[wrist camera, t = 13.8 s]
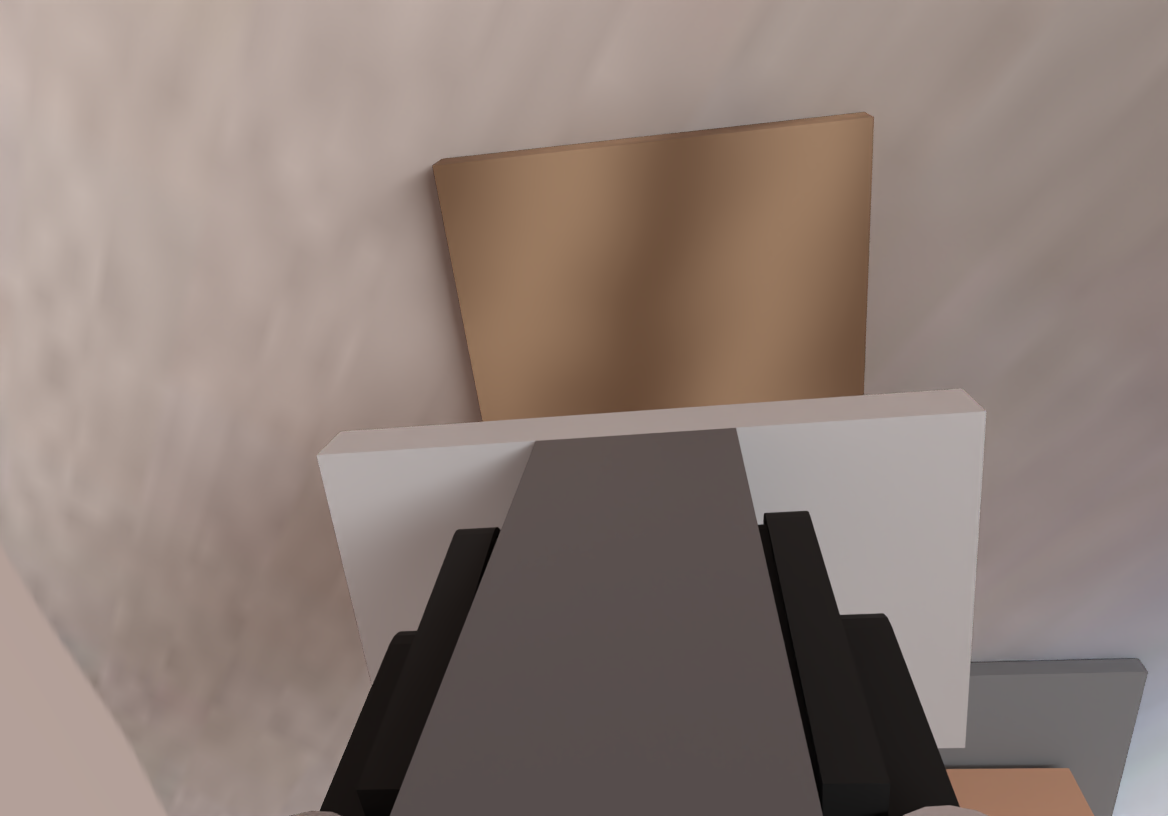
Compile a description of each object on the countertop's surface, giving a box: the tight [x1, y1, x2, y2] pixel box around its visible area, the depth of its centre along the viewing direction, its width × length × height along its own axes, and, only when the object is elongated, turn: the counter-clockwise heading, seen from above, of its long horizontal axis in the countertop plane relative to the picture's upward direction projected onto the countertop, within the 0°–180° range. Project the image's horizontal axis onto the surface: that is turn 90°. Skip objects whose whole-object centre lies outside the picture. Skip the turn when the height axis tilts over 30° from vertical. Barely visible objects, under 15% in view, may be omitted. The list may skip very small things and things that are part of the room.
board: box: [433, 112, 874, 422], centre depth 23 cm, size 11×11×1 cm
